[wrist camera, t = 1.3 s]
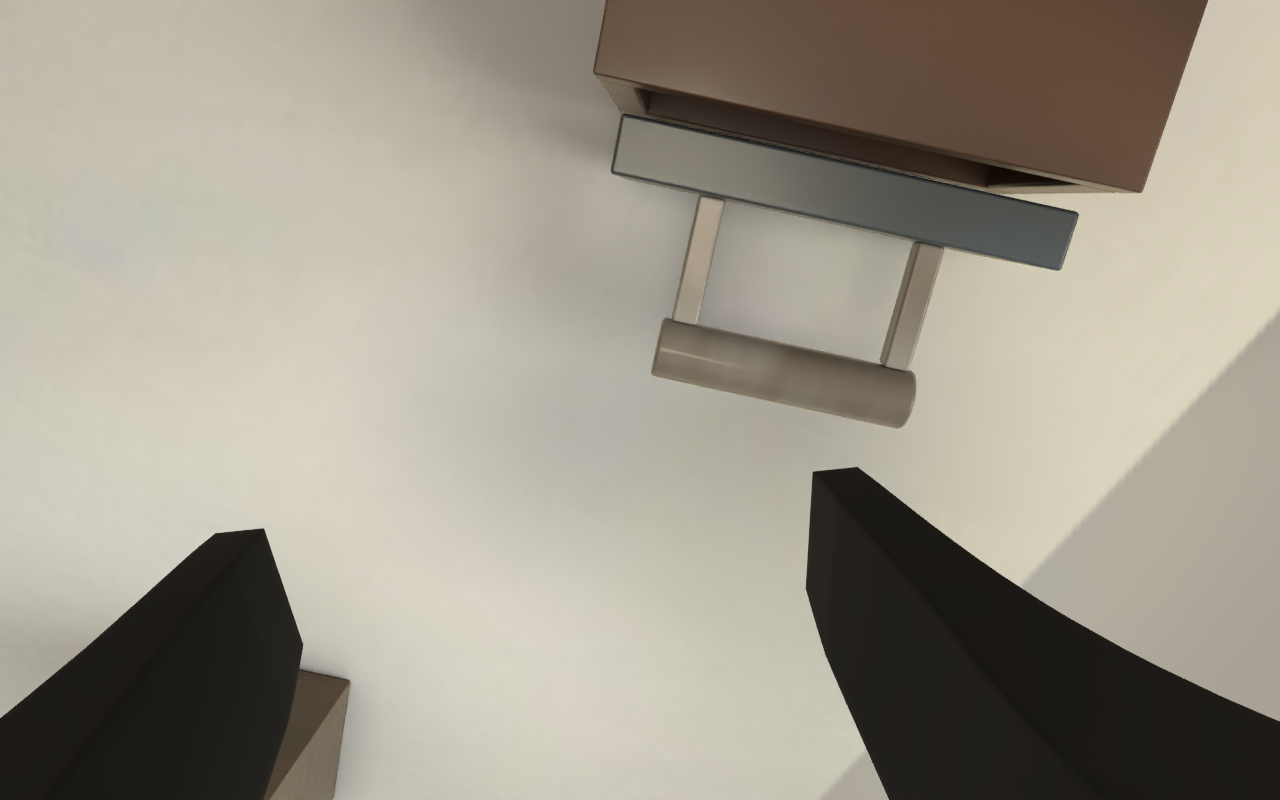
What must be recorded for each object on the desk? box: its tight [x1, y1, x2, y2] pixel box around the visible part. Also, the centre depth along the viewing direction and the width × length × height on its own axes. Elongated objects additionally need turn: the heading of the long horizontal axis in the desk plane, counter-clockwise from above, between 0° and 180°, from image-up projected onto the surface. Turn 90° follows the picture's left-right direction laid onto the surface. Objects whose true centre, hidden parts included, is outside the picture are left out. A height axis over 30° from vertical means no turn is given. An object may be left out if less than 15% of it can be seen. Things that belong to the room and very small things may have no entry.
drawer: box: [611, 114, 1079, 429], centre depth 19 cm, size 16×9×5 cm, turn 168°
